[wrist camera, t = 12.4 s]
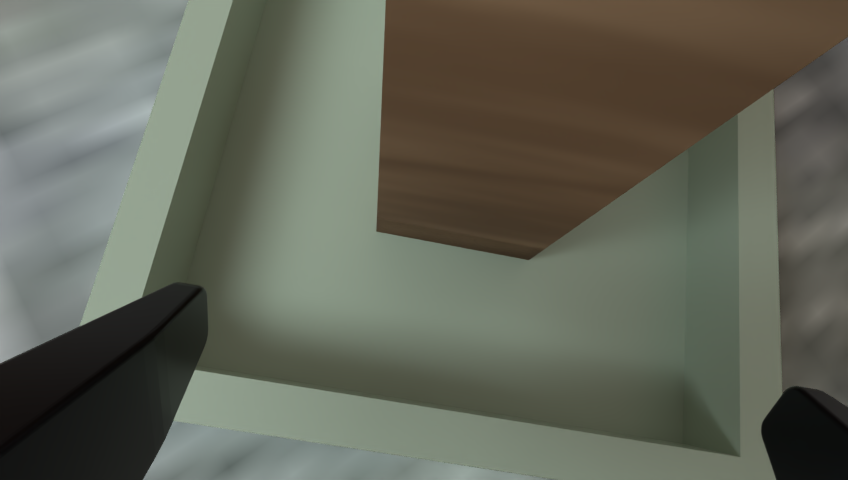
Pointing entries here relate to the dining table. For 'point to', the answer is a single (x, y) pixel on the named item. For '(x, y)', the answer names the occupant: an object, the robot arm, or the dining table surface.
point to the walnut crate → (564, 103)
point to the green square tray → (441, 276)
